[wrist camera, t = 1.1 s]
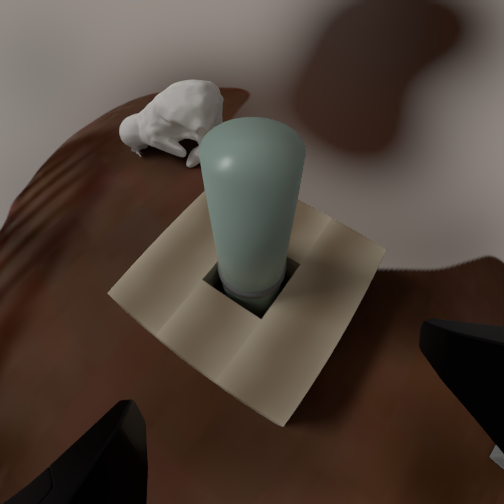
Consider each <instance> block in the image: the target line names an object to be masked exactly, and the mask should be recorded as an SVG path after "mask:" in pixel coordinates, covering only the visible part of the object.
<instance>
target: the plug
mask: <svg viewBox="0 0 504 504" xmlns="http://www.w3.org/2000/svg"><path fill="white" fill-rule="evenodd" d="M199 158H200V164H201V170H202V175H203V181H204V187H205V193H206V199H207V204H208V210H209V215H210V221H211V226H212V232H213V237H214V242H215V248H216V253H217V258H218V263H217V265H218V272H219V276H220V279H221V282H222V284H223V288H224V293H225V296H227V297H228V298H230V299H231V300H233V301H234V302H236V303H237V304H239V305H240V306H242V307H243V308H245V309H246V310H248V311H249V312H251V313H252V314H254V315H255V316H257V317H259V318H262V317H263V316H264V315H265V314H266V312H267V311H268V310H269V308H270V307H271V305H272V304H273V303H274V301H275V300H276V298H277V297H278V296H279V292H280V288H281V283H282V281H283V279H284V276H285V271H286V258H287V253H288V248H289V242H290V237H291V232H292V227H293V221H294V216H295V210H296V205H297V200H298V194H299V188H300V182H301V177H302V171H303V164H304V159H305V145H304V143H303V141H302V139H301V137H300V136H299V135H298V134H297V133H296V132H295V131H294V130H293V129H291V128H290V127H288V126H287V125H285V124H283V123H280V122H277V121H275V120H271V119H266V118H259V117H244V118H237V119H233V120H229V121H226V122H224V123H221V124H219V125H217V126H216V127H214V128H213V129H211V130H210V131H209V132H208V133H207V134H206V135H205V136H204V138H203V139H202V141H201V143H200V146H199Z"/></svg>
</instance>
